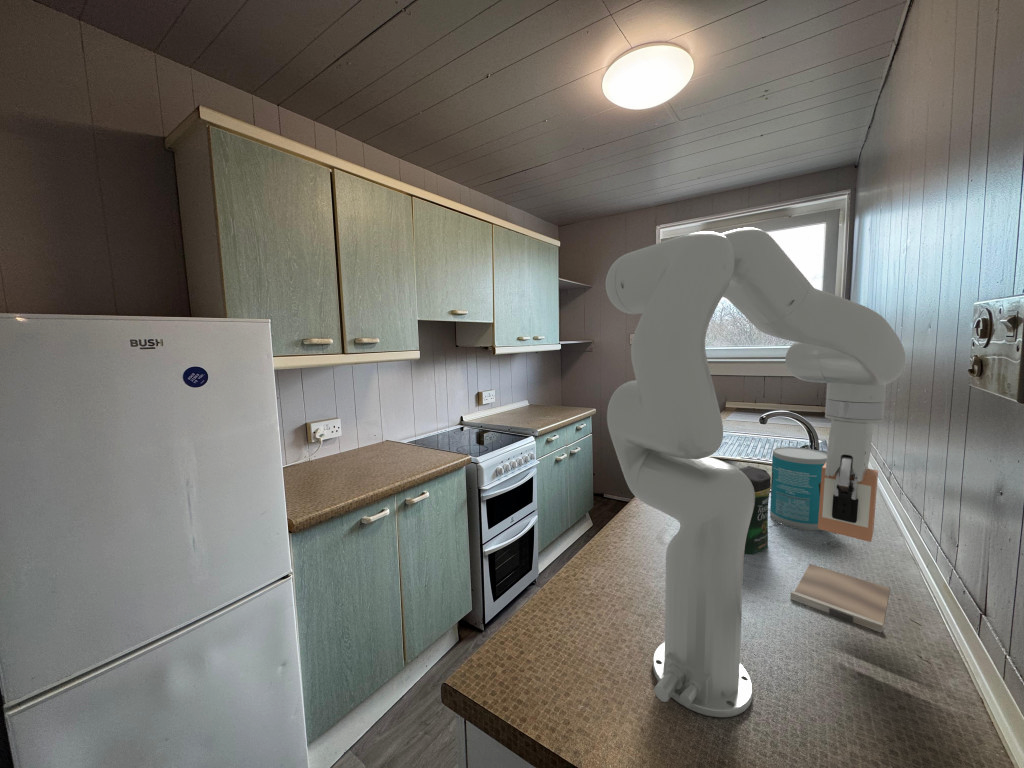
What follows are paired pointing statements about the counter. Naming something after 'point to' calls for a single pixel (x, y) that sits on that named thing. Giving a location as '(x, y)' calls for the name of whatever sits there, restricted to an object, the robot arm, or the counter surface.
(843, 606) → the shelf board
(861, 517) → the salmon upright cuboid
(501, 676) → the counter surface
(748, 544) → the coffee jar
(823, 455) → the food can
